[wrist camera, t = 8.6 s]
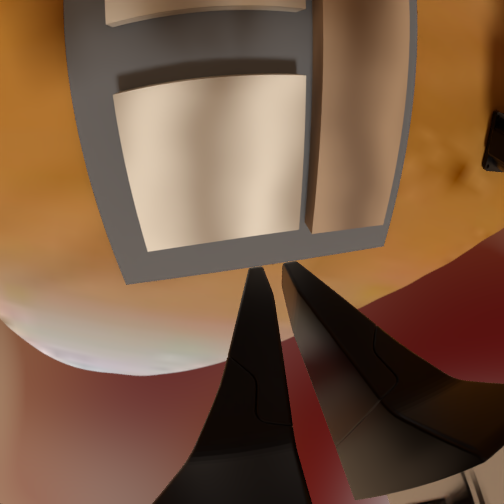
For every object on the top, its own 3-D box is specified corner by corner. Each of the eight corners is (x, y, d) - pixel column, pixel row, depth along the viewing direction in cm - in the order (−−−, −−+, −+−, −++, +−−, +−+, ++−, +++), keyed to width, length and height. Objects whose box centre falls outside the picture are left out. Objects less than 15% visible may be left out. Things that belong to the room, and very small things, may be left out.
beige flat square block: (296, 73, 14) (306, 75, 13) (291, 218, 20) (298, 229, 19) (119, 91, 13) (112, 94, 12) (149, 238, 19) (147, 251, 18)
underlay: (398, -98, 4) (401, -99, 4) (381, 243, 24) (383, 246, 24) (80, -110, 2) (79, -112, 1) (126, 281, 21) (126, 284, 21)
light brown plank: (385, -82, 6) (397, -87, 5) (373, 214, 22) (383, 224, 20) (303, -106, 5) (312, -115, 4) (304, 222, 21) (311, 234, 20)
